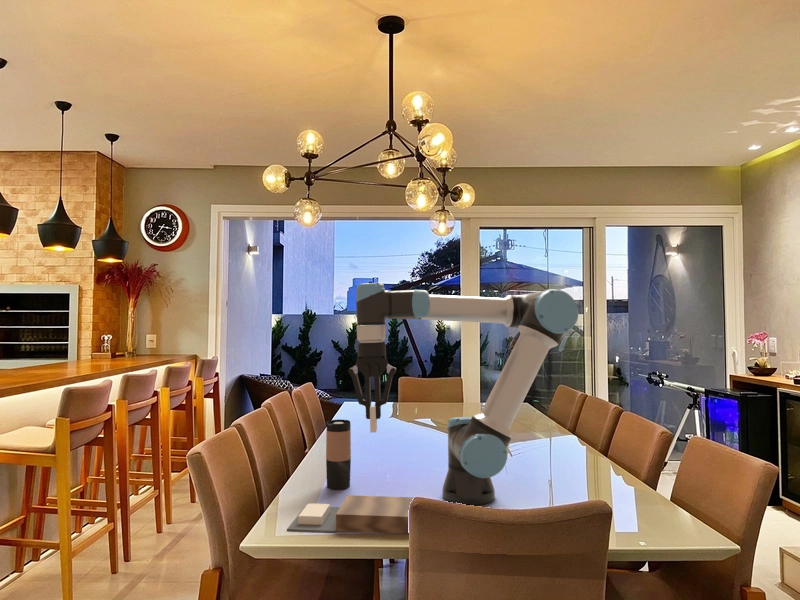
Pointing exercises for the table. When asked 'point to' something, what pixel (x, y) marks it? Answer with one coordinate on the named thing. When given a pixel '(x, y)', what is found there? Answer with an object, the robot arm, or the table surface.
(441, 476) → the table surface
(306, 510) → the tile
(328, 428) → the travel mug
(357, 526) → the wooden block
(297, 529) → the mat
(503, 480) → the table surface
